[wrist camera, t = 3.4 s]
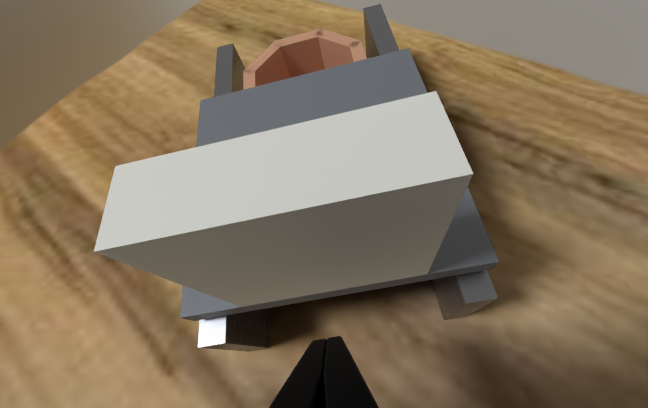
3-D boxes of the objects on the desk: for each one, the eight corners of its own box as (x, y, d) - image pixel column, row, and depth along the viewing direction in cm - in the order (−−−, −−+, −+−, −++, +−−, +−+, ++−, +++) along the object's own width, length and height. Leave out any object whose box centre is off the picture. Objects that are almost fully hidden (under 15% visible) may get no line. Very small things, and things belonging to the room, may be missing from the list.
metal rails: (467, 315, 16) (498, 298, 11) (246, 351, 17) (197, 347, 12) (381, 65, 25) (380, 3, 21) (245, 99, 26) (217, 47, 22)
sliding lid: (490, 269, 11) (635, 140, 5) (194, 320, 13) (-21, 275, 6) (407, 64, 17) (420, -124, 11) (209, 112, 18) (109, -29, 12)
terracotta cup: (382, 156, 21) (381, 102, 17) (271, 180, 22) (242, 135, 18) (360, 79, 25) (355, 19, 21) (267, 101, 26) (242, 49, 21)
